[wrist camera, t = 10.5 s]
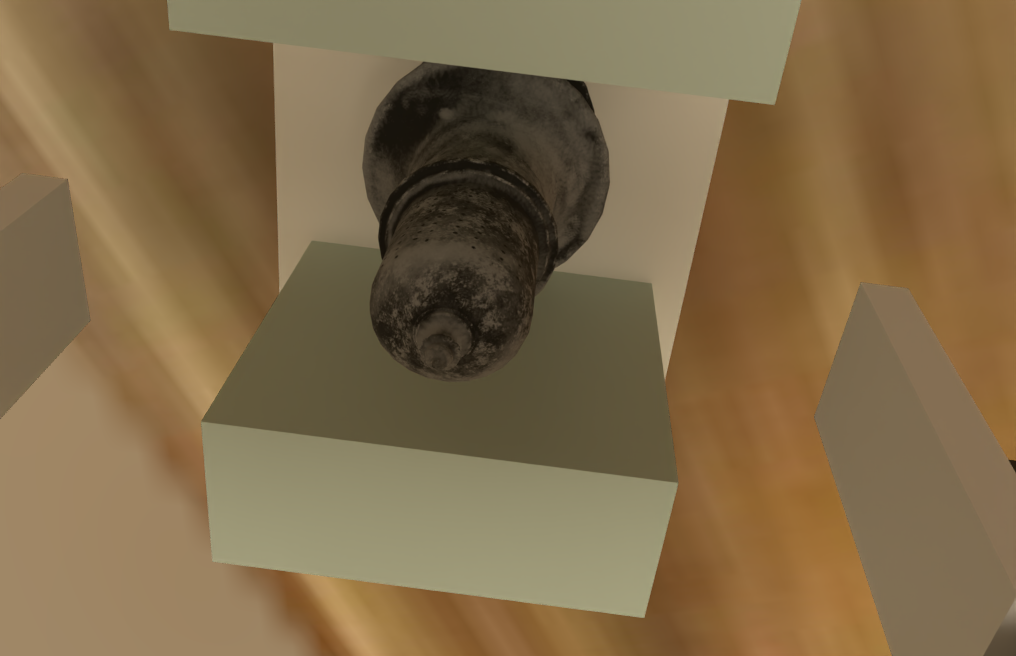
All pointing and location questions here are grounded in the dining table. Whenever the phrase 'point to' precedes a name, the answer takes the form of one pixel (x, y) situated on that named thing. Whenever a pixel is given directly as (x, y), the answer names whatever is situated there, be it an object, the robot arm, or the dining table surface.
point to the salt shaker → (476, 209)
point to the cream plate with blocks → (554, 327)
